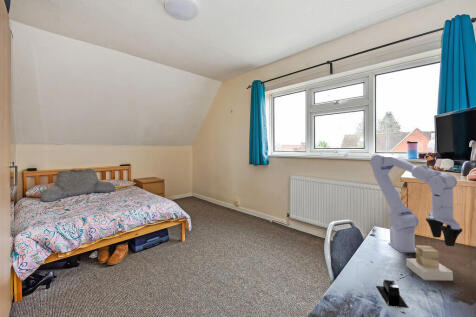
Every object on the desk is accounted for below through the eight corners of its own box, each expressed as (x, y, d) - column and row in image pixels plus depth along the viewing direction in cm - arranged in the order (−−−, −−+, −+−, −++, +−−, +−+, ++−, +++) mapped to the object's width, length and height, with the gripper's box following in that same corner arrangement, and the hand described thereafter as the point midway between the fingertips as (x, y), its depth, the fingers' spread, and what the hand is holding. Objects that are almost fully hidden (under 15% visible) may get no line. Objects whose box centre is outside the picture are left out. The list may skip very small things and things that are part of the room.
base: (406, 266, 82) (406, 258, 82) (431, 266, 82) (431, 258, 82) (424, 280, 74) (424, 271, 73) (452, 280, 73) (452, 271, 73)
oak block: (416, 261, 80) (415, 245, 80) (430, 261, 79) (429, 245, 79) (424, 267, 76) (423, 251, 76) (438, 268, 75) (438, 251, 75)
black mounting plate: (415, 314, 60) (415, 298, 60) (386, 311, 62) (385, 295, 62) (395, 286, 72) (394, 273, 72) (370, 284, 74) (370, 271, 74)
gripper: (419, 201, 89) (420, 233, 89) (441, 211, 75) (442, 249, 75) (440, 201, 87) (440, 234, 87) (467, 211, 73) (467, 250, 74)
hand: (442, 241), depth 81 cm, fingers open, 7 cm apart
